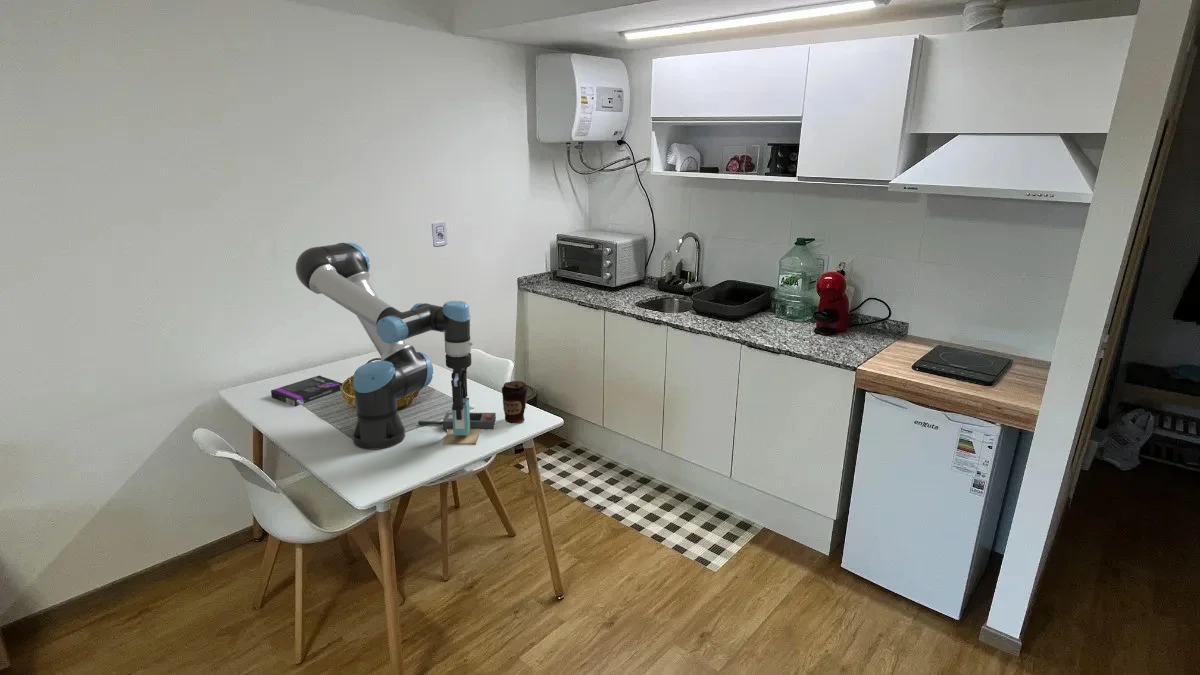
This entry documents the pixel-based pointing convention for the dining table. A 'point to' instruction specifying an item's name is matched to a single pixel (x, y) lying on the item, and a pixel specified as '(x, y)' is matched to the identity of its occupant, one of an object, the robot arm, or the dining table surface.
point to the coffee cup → (514, 401)
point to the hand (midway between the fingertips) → (461, 424)
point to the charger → (466, 419)
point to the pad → (462, 437)
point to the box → (306, 390)
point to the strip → (476, 421)
